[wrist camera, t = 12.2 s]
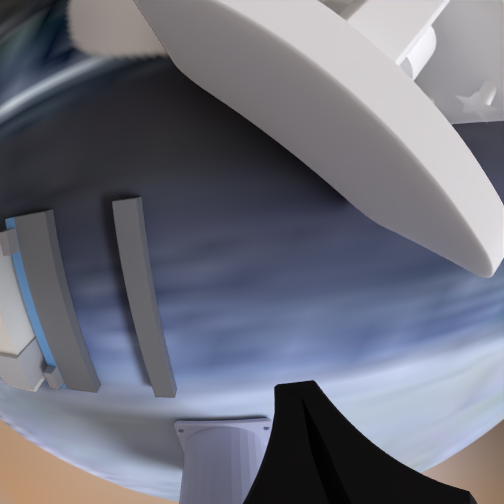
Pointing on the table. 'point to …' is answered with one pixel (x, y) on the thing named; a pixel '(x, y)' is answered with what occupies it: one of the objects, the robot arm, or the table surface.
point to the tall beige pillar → (17, 334)
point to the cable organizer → (363, 100)
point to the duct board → (60, 303)
